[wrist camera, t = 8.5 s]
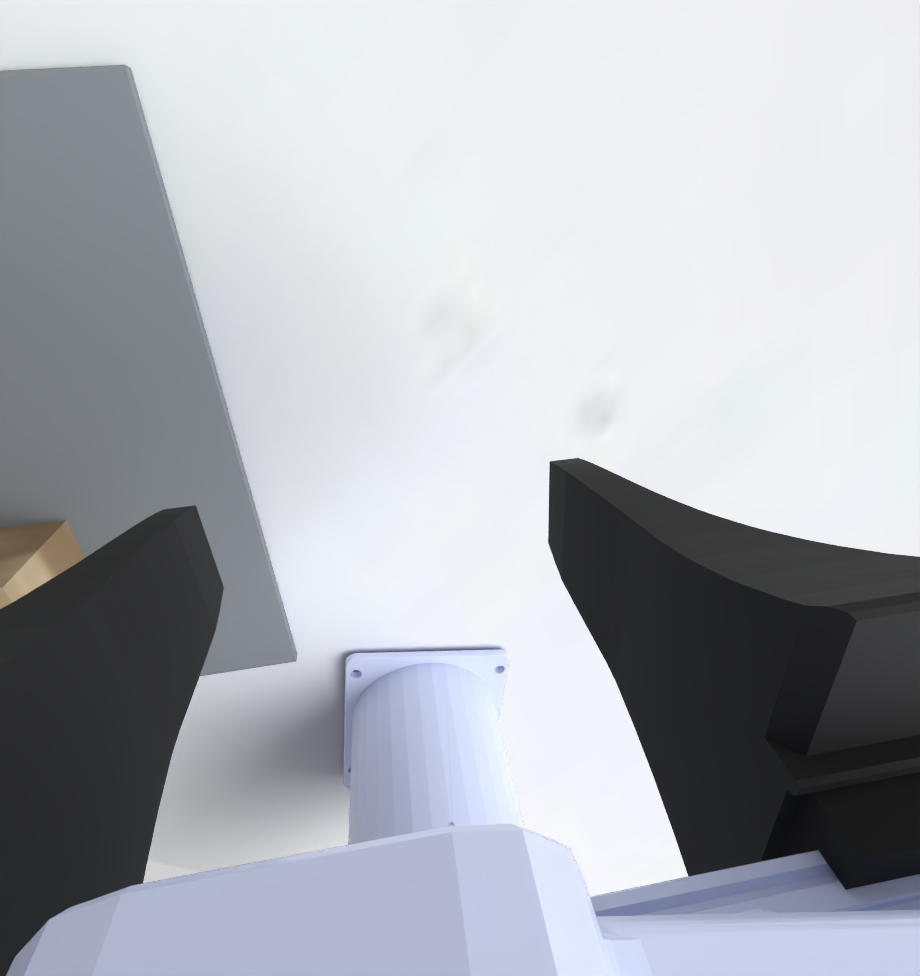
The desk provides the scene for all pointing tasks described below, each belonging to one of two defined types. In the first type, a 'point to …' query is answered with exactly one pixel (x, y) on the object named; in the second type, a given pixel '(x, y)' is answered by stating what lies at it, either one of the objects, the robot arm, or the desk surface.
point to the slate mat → (114, 349)
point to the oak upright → (34, 557)
